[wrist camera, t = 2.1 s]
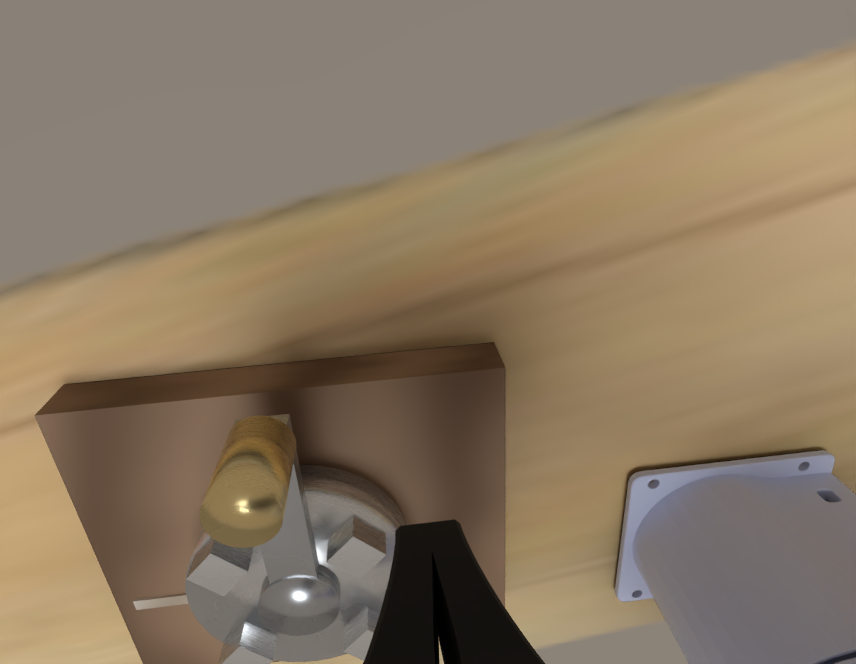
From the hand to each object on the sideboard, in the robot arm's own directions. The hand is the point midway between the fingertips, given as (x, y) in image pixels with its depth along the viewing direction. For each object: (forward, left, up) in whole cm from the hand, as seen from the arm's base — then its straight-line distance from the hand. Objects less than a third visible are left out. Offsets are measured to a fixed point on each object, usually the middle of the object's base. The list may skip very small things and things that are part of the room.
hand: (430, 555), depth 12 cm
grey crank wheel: (+4, +5, -8) cm, 10 cm away
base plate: (+4, +7, -10) cm, 13 cm away
